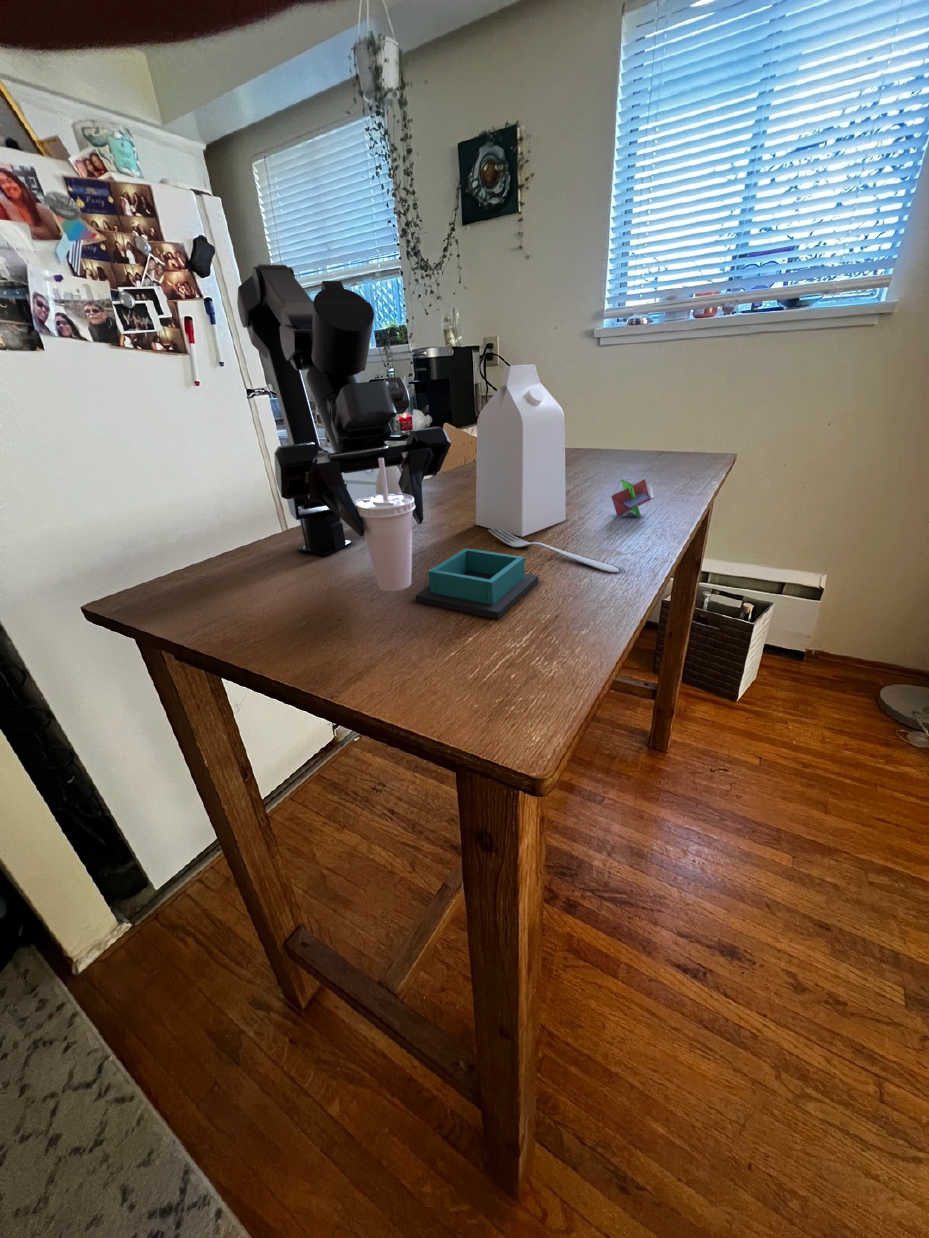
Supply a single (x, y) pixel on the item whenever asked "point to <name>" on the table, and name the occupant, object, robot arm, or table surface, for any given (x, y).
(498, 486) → the milk
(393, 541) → the smoothie
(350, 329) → the robot arm
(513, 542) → the fork
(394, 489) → the egg
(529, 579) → the dock pad
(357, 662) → the table surface
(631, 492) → the geometric puzzle
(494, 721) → the table surface
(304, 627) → the table surface
